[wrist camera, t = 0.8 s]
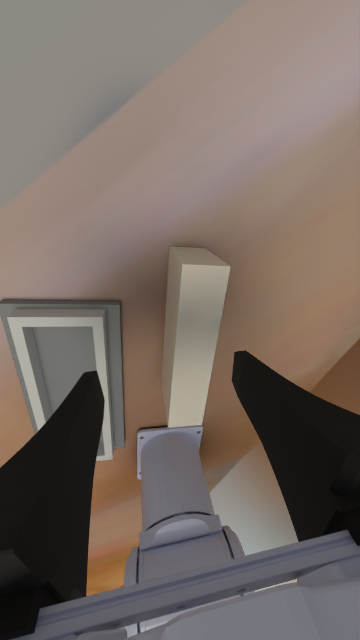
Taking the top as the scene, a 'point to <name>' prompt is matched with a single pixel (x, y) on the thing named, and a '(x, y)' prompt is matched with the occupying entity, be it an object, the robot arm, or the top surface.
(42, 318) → the stepped grey tray
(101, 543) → the top surface
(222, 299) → the long cream rectangular block
